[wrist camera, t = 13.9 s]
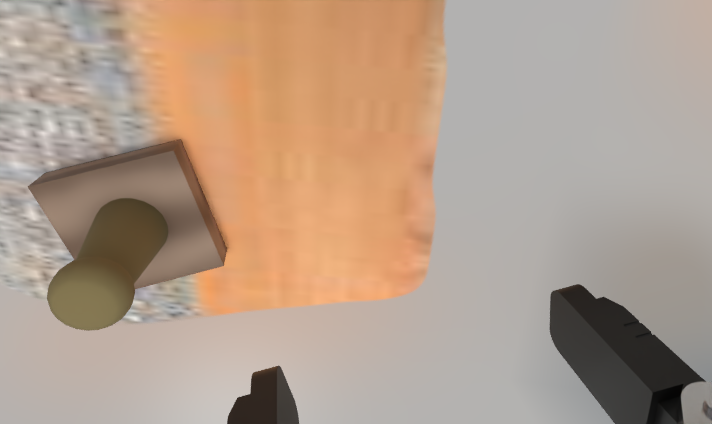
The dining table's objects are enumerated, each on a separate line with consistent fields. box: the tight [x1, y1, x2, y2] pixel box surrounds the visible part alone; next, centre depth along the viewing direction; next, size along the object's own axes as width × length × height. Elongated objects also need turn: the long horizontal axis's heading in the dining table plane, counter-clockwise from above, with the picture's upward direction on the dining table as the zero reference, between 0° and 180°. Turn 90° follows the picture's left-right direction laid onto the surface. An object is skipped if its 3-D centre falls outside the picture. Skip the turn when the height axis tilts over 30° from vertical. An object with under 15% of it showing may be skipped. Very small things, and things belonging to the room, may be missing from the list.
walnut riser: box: [28, 139, 227, 289], centre depth 39 cm, size 12×12×3 cm
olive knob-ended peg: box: [47, 198, 169, 330], centre depth 33 cm, size 6×6×11 cm
